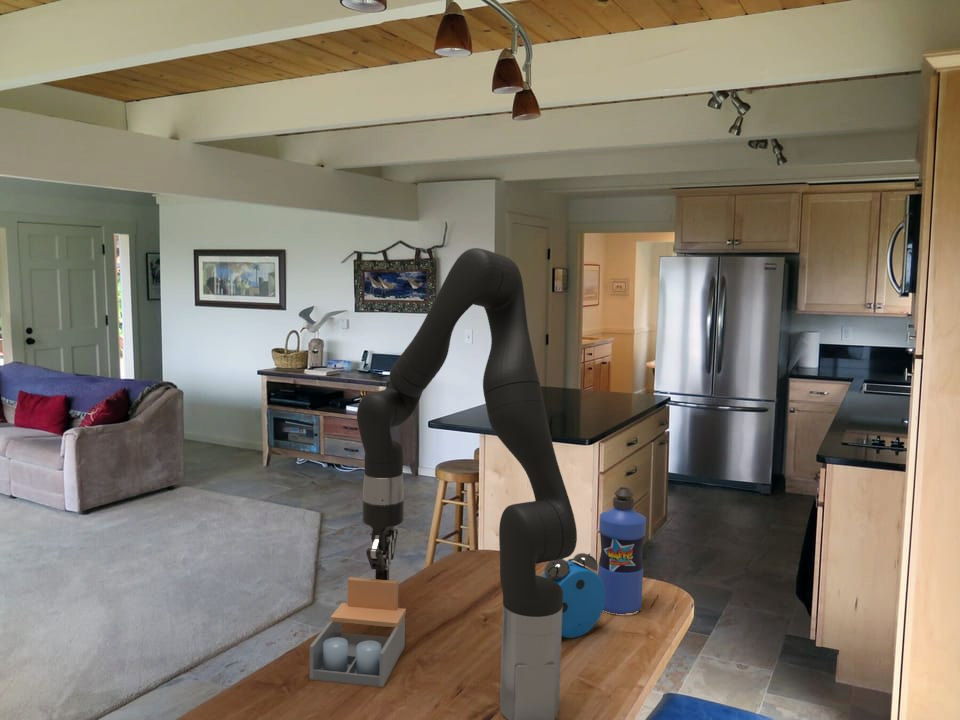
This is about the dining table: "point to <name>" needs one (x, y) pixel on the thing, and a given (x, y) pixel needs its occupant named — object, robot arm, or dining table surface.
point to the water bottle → (622, 554)
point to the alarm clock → (578, 593)
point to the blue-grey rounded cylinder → (368, 658)
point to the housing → (388, 655)
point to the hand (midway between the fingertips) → (382, 586)
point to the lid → (370, 603)
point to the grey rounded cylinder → (335, 654)
